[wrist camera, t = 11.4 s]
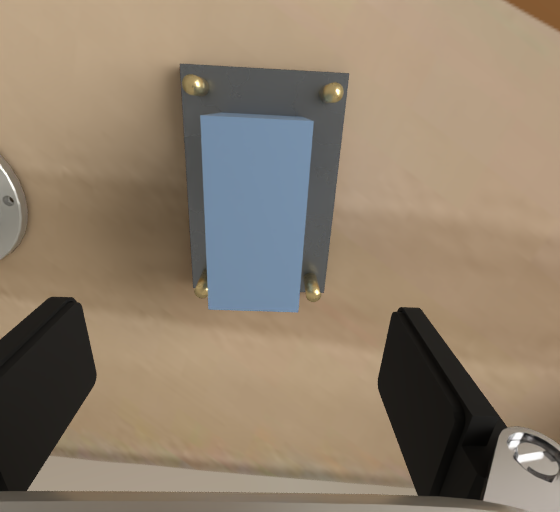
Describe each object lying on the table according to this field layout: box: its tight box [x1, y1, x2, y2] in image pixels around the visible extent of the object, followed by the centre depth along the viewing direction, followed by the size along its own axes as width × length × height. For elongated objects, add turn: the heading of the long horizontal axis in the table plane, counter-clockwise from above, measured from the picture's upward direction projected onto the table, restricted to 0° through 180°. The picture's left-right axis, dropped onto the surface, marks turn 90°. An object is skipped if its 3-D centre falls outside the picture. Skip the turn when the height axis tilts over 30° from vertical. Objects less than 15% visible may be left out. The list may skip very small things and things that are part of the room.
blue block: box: [200, 113, 314, 312], centre depth 24 cm, size 12×6×8 cm, turn 177°
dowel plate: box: [180, 64, 349, 302], centre depth 27 cm, size 12×18×4 cm, turn 177°
